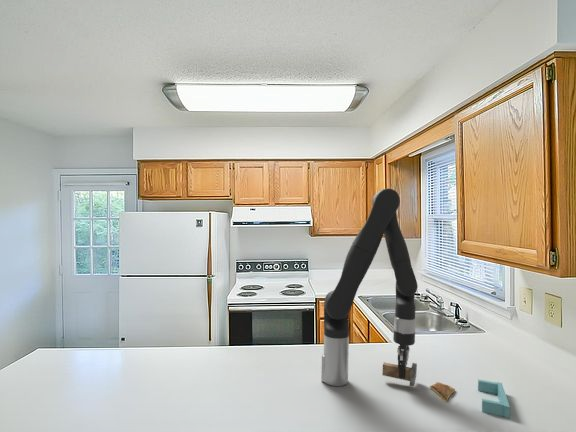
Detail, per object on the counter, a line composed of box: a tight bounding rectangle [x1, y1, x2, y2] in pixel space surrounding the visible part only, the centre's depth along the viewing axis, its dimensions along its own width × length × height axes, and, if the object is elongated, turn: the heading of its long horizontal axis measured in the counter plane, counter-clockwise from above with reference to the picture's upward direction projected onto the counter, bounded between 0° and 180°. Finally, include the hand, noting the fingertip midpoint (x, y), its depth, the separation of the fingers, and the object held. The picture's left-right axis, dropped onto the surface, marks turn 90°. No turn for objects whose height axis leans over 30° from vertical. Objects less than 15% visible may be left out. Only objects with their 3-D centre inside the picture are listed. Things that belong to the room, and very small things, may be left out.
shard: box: [429, 381, 456, 403], centre depth 129 cm, size 11×8×2 cm
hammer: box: [381, 361, 418, 387], centre depth 135 cm, size 12×10×4 cm
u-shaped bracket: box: [477, 379, 511, 419], centre depth 123 cm, size 8×18×4 cm, turn 157°
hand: (402, 376), depth 134 cm, fingers closed on hammer, 2 cm apart
